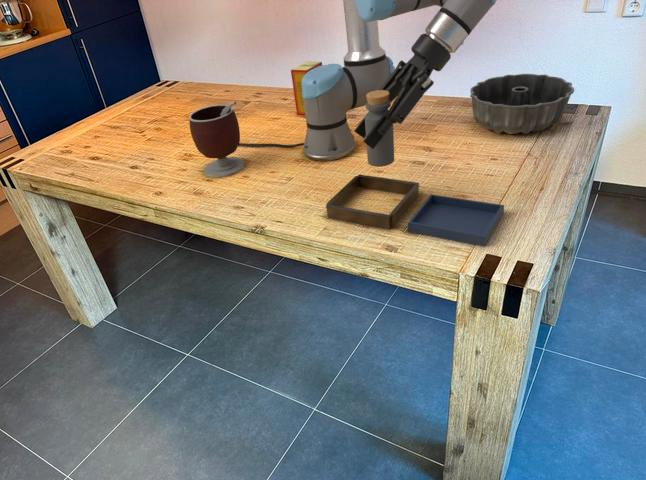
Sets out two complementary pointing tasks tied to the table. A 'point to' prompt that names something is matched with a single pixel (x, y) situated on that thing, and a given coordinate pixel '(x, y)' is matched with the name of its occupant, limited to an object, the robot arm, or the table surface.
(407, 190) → the dark brown square frame
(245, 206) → the table surface
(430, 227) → the tray
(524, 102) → the bundt pan
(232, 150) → the mate gourd
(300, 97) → the baking soda box
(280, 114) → the table surface
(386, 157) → the bottle
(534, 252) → the table surface
